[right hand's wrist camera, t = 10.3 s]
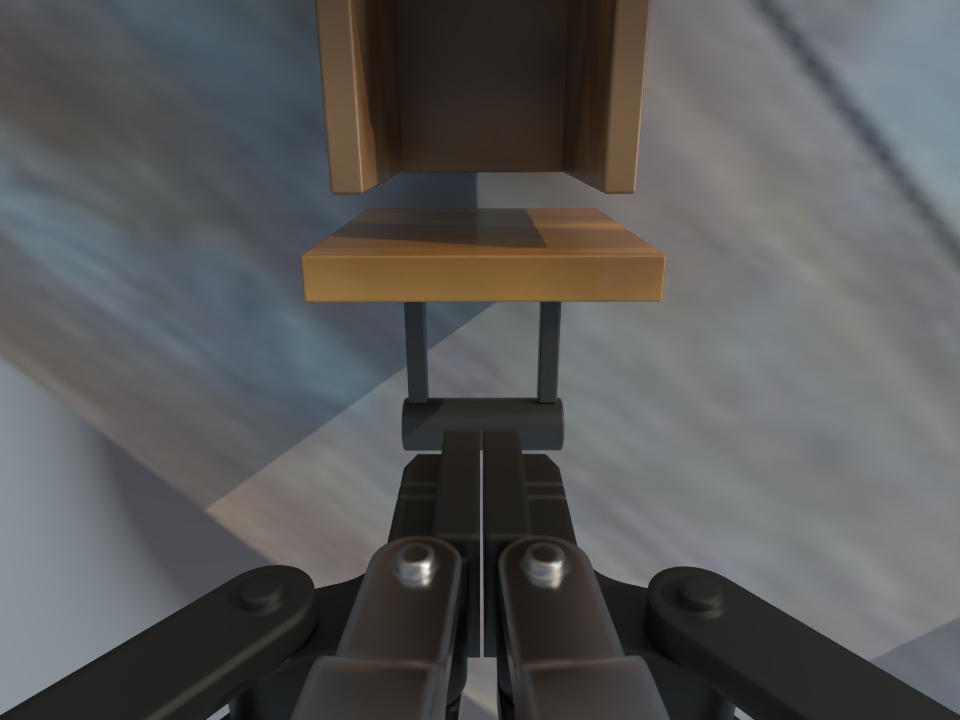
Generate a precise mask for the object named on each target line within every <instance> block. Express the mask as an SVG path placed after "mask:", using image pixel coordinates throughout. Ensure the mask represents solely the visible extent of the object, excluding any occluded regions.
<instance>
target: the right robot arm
mask: <svg viewBox="0 0 960 720" xmlns="http://www.w3.org/2000/svg"><path fill="white" fill-rule="evenodd" d="M483 590H484V657H497V708H498V717H499V720H740V719H738V718H737V717H736V716H734V713H735V708H736V707H738V708H739V709H741V710H742V711H743V712H745V713H746V714H747V715H749V716H750V717H751V718H753V719H754V720H960V715H958V714H957V713H955V712H953V711H952V710H950V709H948V708H946V707H945V706H943V705H941V704H940V703H938V702H936V701H935V700H933V699H931V698H929V697H928V696H926V695H924V694H923V693H921V692H919V691H918V690H916V689H914V688H912V687H911V686H909V685H907V684H906V683H904V682H902V681H901V680H899V679H897V678H895V677H894V676H892V675H890V674H889V673H887V672H885V671H884V670H882V669H880V668H878V667H877V666H875V665H873V664H872V663H870V662H868V661H866V660H865V659H863V658H861V657H860V656H858V655H856V654H855V653H853V652H851V651H849V650H848V649H846V648H844V647H843V646H841V645H839V644H838V643H836V642H834V641H832V640H831V639H829V638H827V637H826V636H824V635H822V634H821V633H819V632H817V631H815V630H814V629H812V628H810V627H809V626H807V625H805V624H804V623H802V622H800V621H798V620H797V619H795V618H793V617H792V616H790V615H788V614H787V613H785V612H783V611H781V610H780V609H778V608H776V607H775V606H773V605H771V604H769V603H768V602H766V601H764V600H763V599H761V598H759V597H758V596H756V595H754V594H752V593H751V592H749V591H747V590H746V589H744V588H742V587H741V586H739V585H737V584H735V583H734V582H732V581H730V580H729V579H727V578H725V577H723V576H721V575H719V574H717V573H714V572H712V571H709V570H705V569H701V568H696V567H673V568H669V569H665V570H663V571H661V572H659V573H657V574H656V575H655V576H654V577H653V578H652V579H651V581H650V583H649V586H648V588H644V587H640V586H635V585H631V584H627V583H623V582H619V581H616V580H613V579H611V578H608V577H606V576H604V575H602V574H600V573H598V572H597V571H595V570H594V569H593V568H592V565H591V562H590V560H589V558H588V556H587V555H586V554H585V552H584V551H583V550H581V549H580V548H579V547H578V546H577V543H576V539H575V534H574V530H573V526H572V521H571V517H570V513H569V509H568V504H567V500H566V496H565V491H564V487H563V483H562V479H561V474H560V470H559V467H558V466H557V465H556V464H555V463H554V462H553V461H552V460H551V459H550V458H549V457H548V456H547V455H546V454H522V451H521V443H520V436H519V430H483ZM467 657H480V430H444V437H443V446H442V454H418V455H417V456H416V457H415V458H414V459H413V460H412V461H411V462H410V463H409V464H408V465H407V466H406V467H405V468H404V471H403V476H402V480H401V486H400V489H399V494H398V500H397V503H396V507H395V512H394V516H393V520H392V525H391V529H390V534H389V538H388V543H387V544H385V545H384V546H382V547H381V548H380V549H379V550H377V551H376V552H375V554H374V555H373V556H372V558H371V560H370V562H369V565H368V568H367V570H366V573H365V574H363V575H361V576H359V577H357V578H354V579H352V580H349V581H346V582H343V583H339V584H334V585H330V586H326V587H322V588H317V589H314V584H313V581H312V579H311V578H310V576H309V575H308V574H306V573H305V572H304V571H302V570H300V569H298V568H295V567H291V566H285V565H273V566H265V567H260V568H256V569H253V570H250V571H247V572H245V573H242V574H240V575H239V576H237V577H235V578H233V579H231V580H230V581H228V582H226V583H225V584H223V585H221V586H219V587H218V588H216V589H214V590H213V591H211V592H209V593H208V594H206V595H204V596H203V597H201V598H199V599H197V600H196V601H194V602H192V603H191V604H189V605H187V606H185V607H184V608H182V609H180V610H179V611H177V612H175V613H174V614H172V615H170V616H168V617H167V618H165V619H163V620H162V621H160V622H158V623H156V624H155V625H153V626H151V627H150V628H148V629H146V630H145V631H143V632H141V633H139V634H138V635H136V636H134V637H133V638H131V639H129V640H128V641H126V642H124V643H122V644H121V645H119V646H117V647H116V648H114V649H112V650H111V651H109V652H107V653H106V654H104V655H102V656H100V657H99V658H97V659H95V660H94V661H92V662H90V663H88V664H87V665H85V666H83V667H82V668H80V669H78V670H77V671H75V672H73V673H71V674H70V675H68V676H66V677H65V678H63V679H61V680H60V681H58V682H56V683H54V684H53V685H51V686H49V687H48V688H46V689H44V690H43V691H41V692H39V693H37V694H36V695H34V696H32V697H31V698H29V699H27V700H26V701H24V702H22V703H20V704H19V705H17V706H15V707H14V708H12V709H10V710H8V711H7V712H5V713H3V714H2V715H0V720H206V719H207V718H209V717H210V716H211V715H213V714H214V713H215V712H217V711H218V710H219V709H221V708H222V707H224V706H225V705H226V704H229V710H230V712H229V713H228V714H227V715H226V716H224V717H223V718H222V719H220V720H461V717H462V708H463V689H464V687H465V684H466V680H467Z"/></svg>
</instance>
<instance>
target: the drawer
mask: <svg viewBox="0 0 960 720" xmlns="http://www.w3.org/2000/svg"><path fill="white" fill-rule="evenodd" d="M315 6H316V18H317V30H318V42H319V54H320V66H321V78H322V90H323V102H324V114H325V126H326V138H327V150H328V162H329V174H330V186H331V192H332V193H333V194H362V193H364V192H366V191H368V190H370V189H372V188H373V187H375V186H377V185H379V184H381V183H383V182H384V181H386V180H388V179H390V178H392V177H394V176H395V175H397V174H399V173H401V172H564V173H566V174H568V175H570V176H572V177H574V178H576V179H578V180H580V181H582V182H584V183H586V184H588V185H590V186H592V187H594V188H595V189H597V190H599V191H601V192H603V193H606V194H632V193H634V192H635V190H636V178H637V166H638V154H639V142H640V130H641V118H642V106H643V94H644V82H645V69H646V57H647V45H648V33H649V21H650V9H651V0H315ZM300 259H301V269H302V278H303V288H304V298H305V301H306V302H404V307H405V329H406V350H407V372H408V394H409V398H406V399H405V400H404V403H403V410H402V442H403V447H404V450H406V451H421V450H442V446H443V437H444V430H480V450H483V430H519V436H520V443H521V450H561V449H562V446H563V441H564V412H563V404H562V401H561V399H560V398H557V385H558V362H559V340H560V318H561V302H611V301H661V300H662V294H663V284H664V274H665V265H666V255H665V254H663V253H662V252H660V251H659V250H657V249H656V248H654V247H653V246H651V245H650V244H648V243H647V242H645V241H644V240H642V239H641V238H639V237H638V236H636V235H635V234H633V233H632V232H631V231H629V230H628V229H626V228H625V227H623V226H622V225H620V224H619V223H617V222H616V221H614V220H613V219H611V218H610V217H608V216H607V215H605V214H604V213H602V212H601V211H599V210H598V209H596V208H592V209H367V210H365V211H364V212H363V213H361V214H360V215H358V216H357V217H355V218H354V219H353V220H351V221H350V222H348V223H347V224H346V225H344V226H343V227H341V228H340V229H339V230H337V231H336V232H334V233H333V234H331V235H330V236H329V237H327V238H326V239H324V240H323V241H322V242H320V243H319V244H317V245H316V246H315V247H313V248H312V249H310V250H309V251H307V252H306V253H305V254H303V255H302V256H301V258H300ZM425 302H540V321H539V352H538V383H537V397H538V398H428V396H429V395H428V365H427V336H426V306H425Z"/></svg>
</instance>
